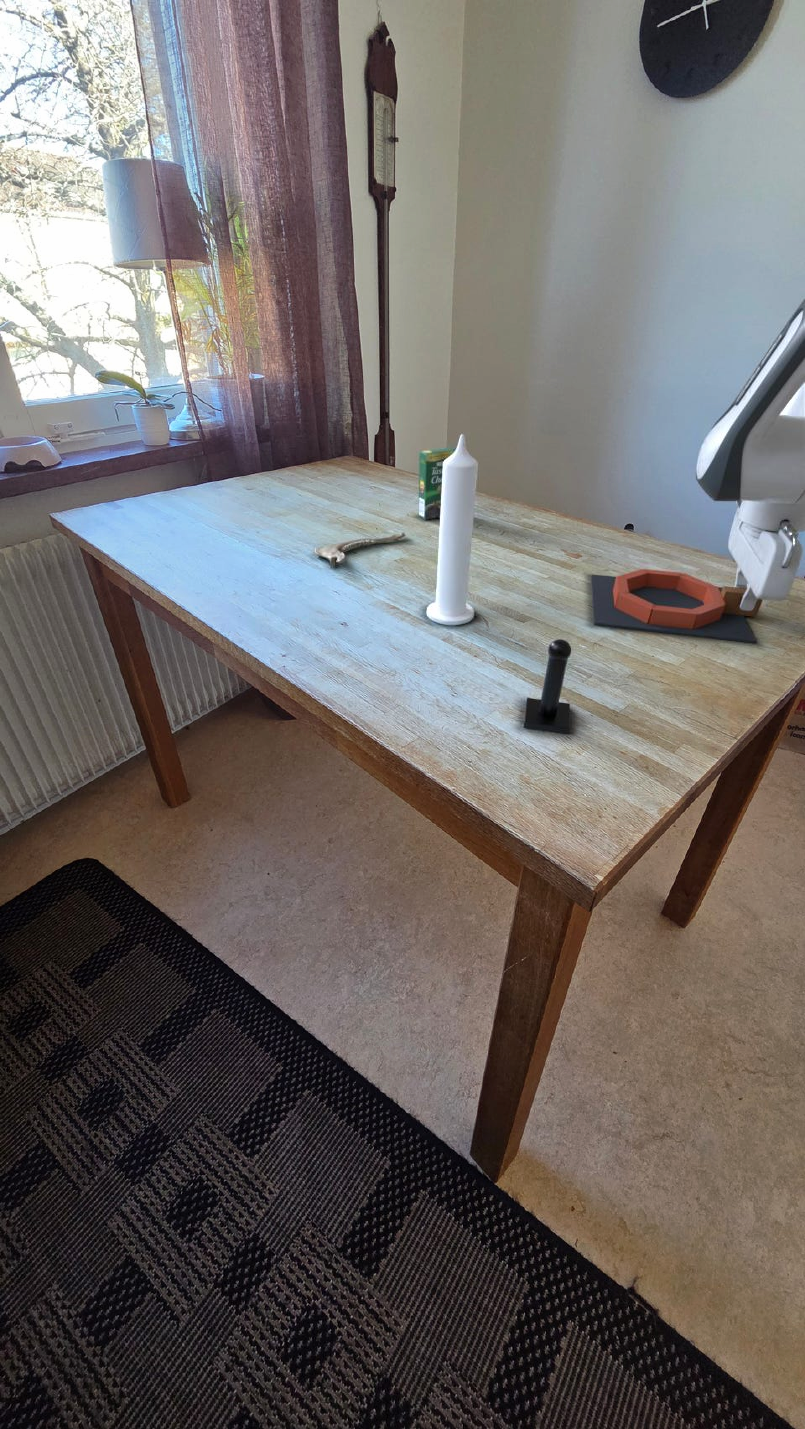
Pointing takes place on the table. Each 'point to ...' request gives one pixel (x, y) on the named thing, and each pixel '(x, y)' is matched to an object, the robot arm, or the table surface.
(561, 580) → the table surface
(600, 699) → the table surface
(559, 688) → the peg stand
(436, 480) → the coffee box
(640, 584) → the hoop
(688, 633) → the mat
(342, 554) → the jawbone
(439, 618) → the candle
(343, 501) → the table surface
